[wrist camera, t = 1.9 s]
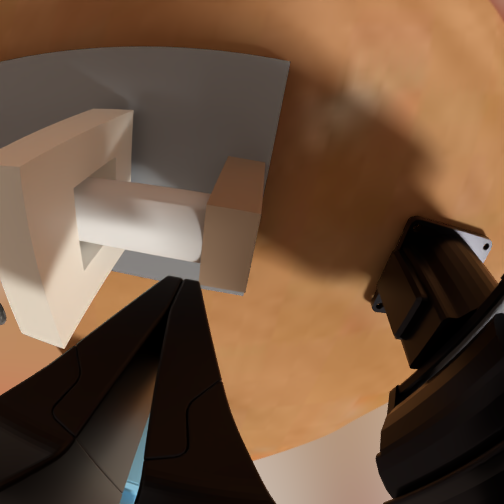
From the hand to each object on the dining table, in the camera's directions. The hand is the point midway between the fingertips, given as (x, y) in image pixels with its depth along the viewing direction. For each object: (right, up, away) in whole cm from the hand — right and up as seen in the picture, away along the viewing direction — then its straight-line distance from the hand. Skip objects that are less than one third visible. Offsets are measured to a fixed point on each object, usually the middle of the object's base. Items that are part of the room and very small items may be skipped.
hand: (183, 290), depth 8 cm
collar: (-5, +4, +5) cm, 8 cm away
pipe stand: (-8, +6, +7) cm, 12 cm away
